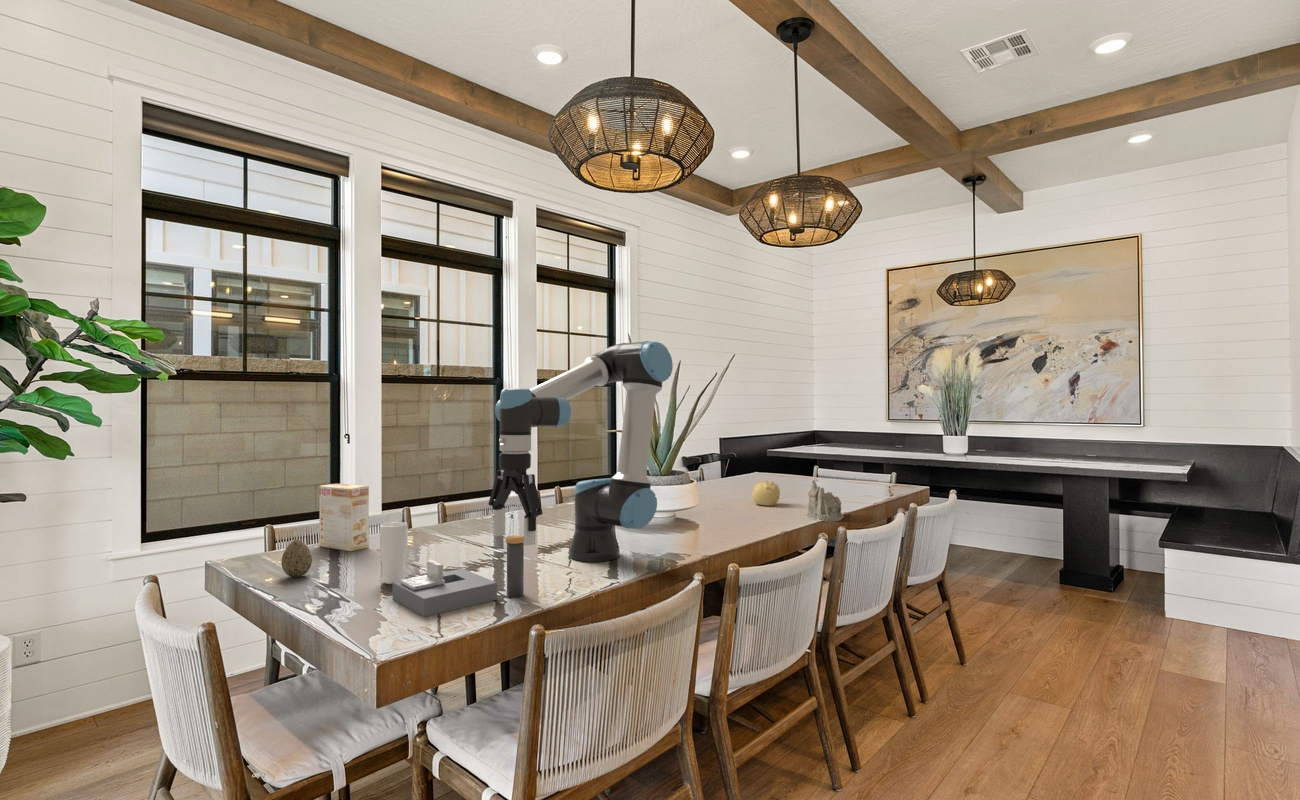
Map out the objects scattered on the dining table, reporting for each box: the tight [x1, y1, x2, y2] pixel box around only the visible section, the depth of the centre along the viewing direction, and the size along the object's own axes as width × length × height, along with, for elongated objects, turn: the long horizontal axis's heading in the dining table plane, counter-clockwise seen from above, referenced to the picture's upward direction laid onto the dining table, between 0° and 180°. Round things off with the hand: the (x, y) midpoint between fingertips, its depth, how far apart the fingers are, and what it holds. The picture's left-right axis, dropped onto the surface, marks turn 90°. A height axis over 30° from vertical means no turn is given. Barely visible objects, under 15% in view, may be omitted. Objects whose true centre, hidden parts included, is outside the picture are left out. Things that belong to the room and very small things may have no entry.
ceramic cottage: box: [806, 479, 845, 523], centre depth 261 cm, size 16×16×15 cm
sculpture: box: [751, 480, 781, 507], centre depth 290 cm, size 12×12×11 cm
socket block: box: [392, 568, 498, 618], centre depth 157 cm, size 18×17×4 cm
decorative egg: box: [281, 538, 313, 578], centre depth 175 cm, size 7×7×10 cm
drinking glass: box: [379, 521, 409, 585], centre depth 171 cm, size 7×7×15 cm
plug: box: [505, 534, 525, 599], centre depth 160 cm, size 5×5×14 cm
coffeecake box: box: [318, 483, 370, 552], centre depth 209 cm, size 15×7×20 cm, turn 63°
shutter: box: [400, 559, 445, 590], centre depth 155 cm, size 8×8×4 cm
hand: (514, 540), depth 160 cm, fingers open, 13 cm apart
